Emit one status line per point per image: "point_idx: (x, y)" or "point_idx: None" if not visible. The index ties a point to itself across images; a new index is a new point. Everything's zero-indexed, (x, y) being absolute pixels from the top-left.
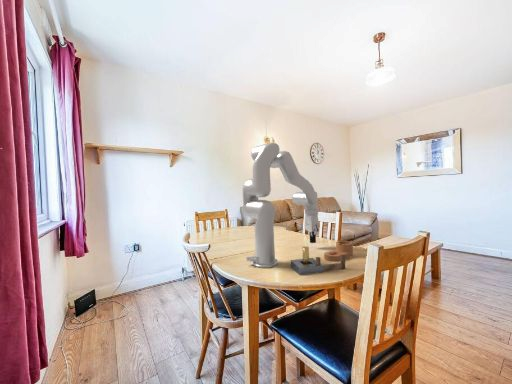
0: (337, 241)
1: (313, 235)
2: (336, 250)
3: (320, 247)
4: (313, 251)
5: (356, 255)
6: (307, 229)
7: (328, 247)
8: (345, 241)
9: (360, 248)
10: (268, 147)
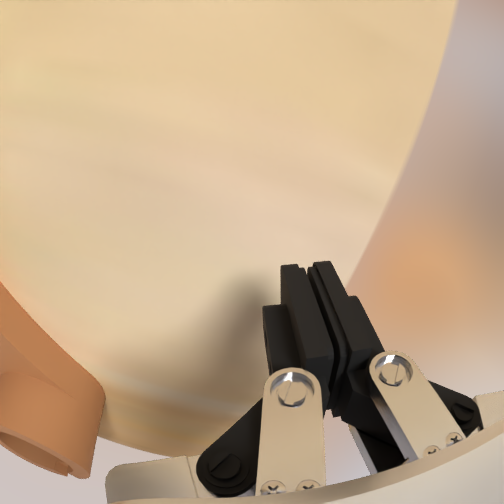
0: (53, 451)
1: (241, 424)
2: (27, 374)
3: None
4: (149, 208)
5: None
6: (460, 497)
7: None
8: (71, 470)
9: None
10: None
